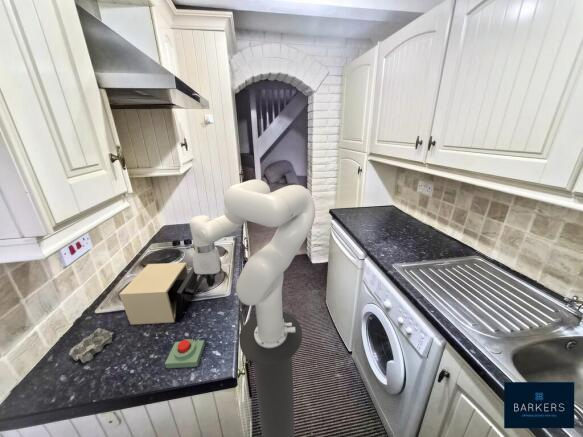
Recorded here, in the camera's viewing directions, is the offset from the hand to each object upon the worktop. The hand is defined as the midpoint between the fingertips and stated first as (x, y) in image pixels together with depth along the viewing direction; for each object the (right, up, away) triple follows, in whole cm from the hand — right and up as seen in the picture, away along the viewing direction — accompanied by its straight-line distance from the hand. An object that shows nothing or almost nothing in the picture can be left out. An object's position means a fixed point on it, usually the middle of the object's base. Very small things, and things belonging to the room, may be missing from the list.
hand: (211, 284), depth 97 cm
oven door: (-10, -10, +3) cm, 14 cm away
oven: (-22, -10, +3) cm, 24 cm away
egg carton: (-36, -18, -16) cm, 43 cm away
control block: (-1, -18, -20) cm, 27 cm away
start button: (-2, -15, -21) cm, 26 cm away
